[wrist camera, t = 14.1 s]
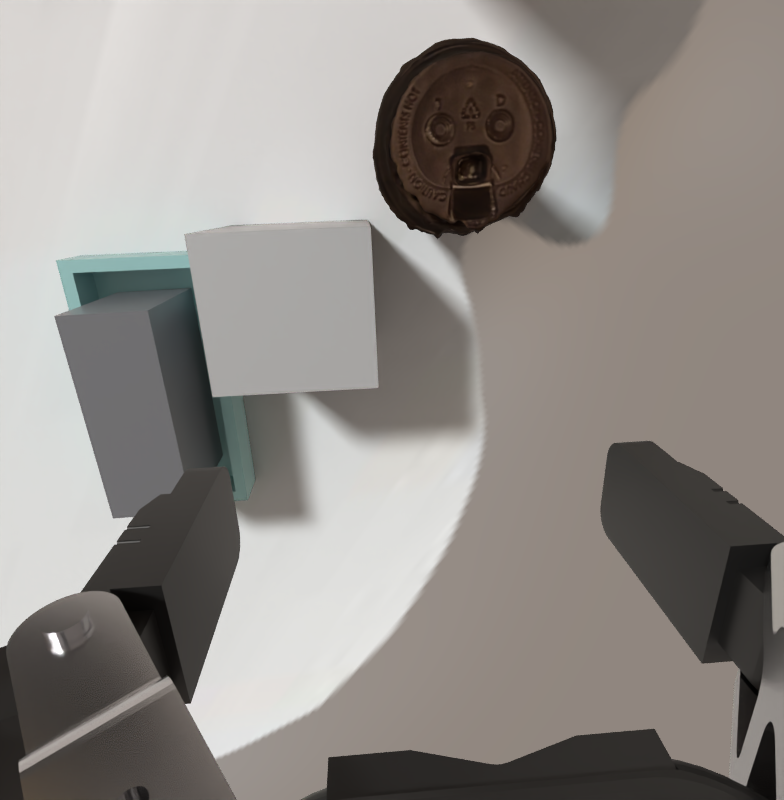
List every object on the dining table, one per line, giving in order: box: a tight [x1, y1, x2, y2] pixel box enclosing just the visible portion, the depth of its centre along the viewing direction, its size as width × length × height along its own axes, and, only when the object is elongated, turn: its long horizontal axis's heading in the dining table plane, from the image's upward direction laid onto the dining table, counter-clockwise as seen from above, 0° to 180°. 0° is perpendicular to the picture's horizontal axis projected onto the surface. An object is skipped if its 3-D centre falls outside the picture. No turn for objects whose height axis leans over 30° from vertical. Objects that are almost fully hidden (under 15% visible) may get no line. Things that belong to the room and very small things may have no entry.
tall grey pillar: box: [54, 288, 223, 518], centre depth 34 cm, size 13×5×8 cm, turn 3°
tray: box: [56, 251, 255, 501], centre depth 37 cm, size 18×9×3 cm, turn 2°
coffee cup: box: [373, 38, 556, 239], centre depth 28 cm, size 9×8×13 cm
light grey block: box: [184, 220, 379, 397], centre depth 32 cm, size 9×9×10 cm
